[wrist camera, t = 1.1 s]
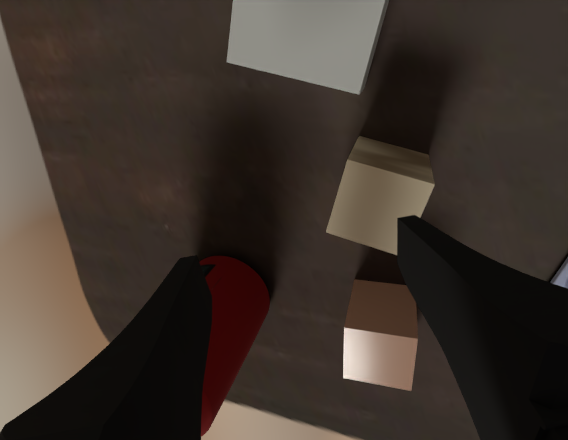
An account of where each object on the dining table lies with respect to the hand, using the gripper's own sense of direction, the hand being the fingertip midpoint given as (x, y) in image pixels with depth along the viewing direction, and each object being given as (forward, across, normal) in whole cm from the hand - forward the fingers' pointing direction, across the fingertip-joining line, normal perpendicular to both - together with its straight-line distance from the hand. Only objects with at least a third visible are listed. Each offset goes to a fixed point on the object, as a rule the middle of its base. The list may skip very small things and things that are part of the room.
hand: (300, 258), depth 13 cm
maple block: (+9, -6, +2) cm, 11 cm away
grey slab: (+12, -3, -7) cm, 14 cm away
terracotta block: (+8, -5, +12) cm, 15 cm away
